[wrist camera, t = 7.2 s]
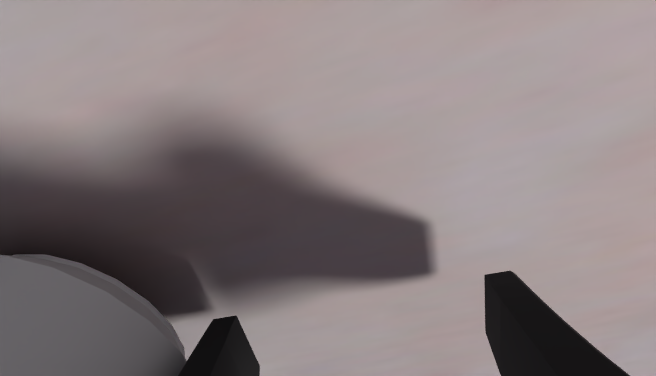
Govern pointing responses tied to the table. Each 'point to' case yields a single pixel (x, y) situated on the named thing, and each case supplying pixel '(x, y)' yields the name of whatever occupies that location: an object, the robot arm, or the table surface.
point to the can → (79, 323)
